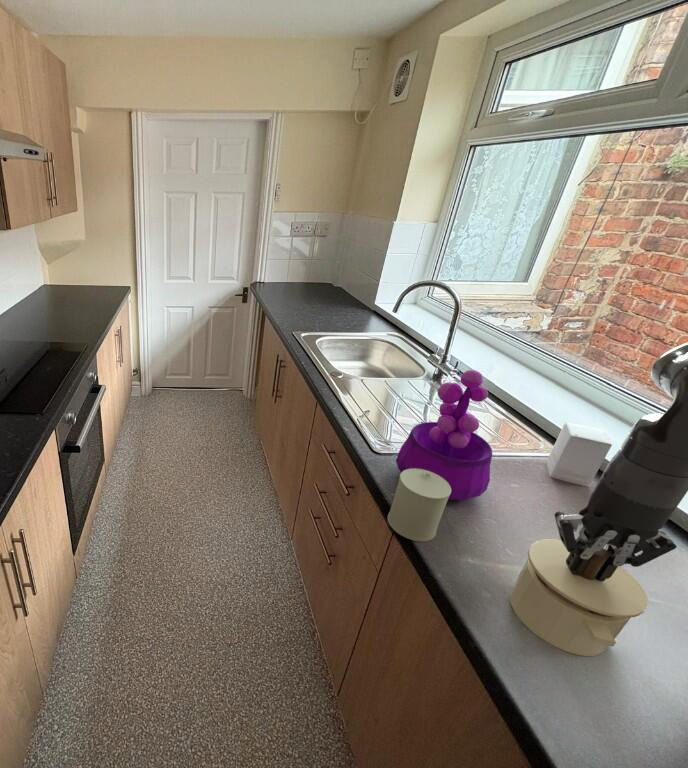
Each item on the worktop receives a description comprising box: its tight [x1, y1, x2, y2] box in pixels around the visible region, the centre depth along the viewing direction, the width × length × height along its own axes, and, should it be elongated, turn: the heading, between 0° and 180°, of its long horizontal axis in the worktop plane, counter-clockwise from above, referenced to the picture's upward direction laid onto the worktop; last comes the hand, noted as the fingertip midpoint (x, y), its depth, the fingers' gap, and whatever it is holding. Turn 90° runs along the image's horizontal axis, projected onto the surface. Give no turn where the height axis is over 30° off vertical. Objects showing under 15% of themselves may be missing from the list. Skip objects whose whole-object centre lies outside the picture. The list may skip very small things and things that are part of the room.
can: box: [387, 468, 451, 542], centre depth 86 cm, size 9×9×12 cm
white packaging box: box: [545, 421, 613, 488], centre depth 99 cm, size 7×7×13 cm
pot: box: [509, 557, 631, 657], centre depth 68 cm, size 13×18×8 cm
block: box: [544, 584, 590, 613], centre depth 68 cm, size 4×4×4 cm
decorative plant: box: [395, 369, 493, 501], centre depth 93 cm, size 19×18×30 cm
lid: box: [527, 538, 649, 619], centre depth 64 cm, size 14×14×6 cm
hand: (585, 573), depth 65 cm, fingers closed on lid, 2 cm apart
